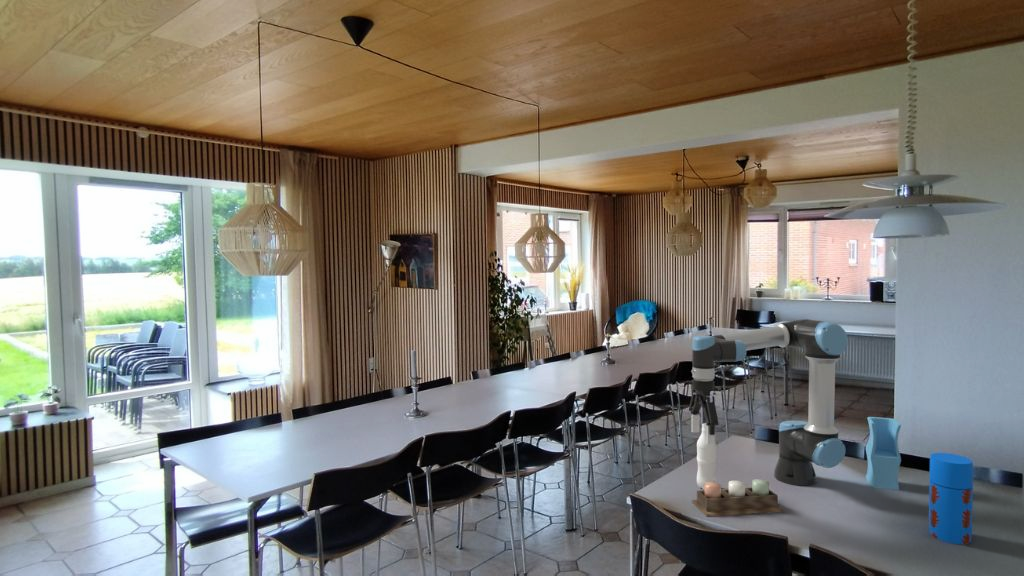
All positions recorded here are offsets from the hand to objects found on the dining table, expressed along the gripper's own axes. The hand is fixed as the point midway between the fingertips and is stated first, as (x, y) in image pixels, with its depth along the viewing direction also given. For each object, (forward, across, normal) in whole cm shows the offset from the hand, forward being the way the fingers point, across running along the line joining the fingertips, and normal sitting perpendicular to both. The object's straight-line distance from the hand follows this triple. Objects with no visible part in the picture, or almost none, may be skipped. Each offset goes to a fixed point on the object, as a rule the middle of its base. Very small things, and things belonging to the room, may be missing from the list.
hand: (702, 437), depth 207 cm
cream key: (+21, +3, +11) cm, 24 cm away
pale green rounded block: (+21, +3, +20) cm, 29 cm away
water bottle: (+25, -15, +8) cm, 30 cm away
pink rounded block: (+21, +3, +2) cm, 21 cm away
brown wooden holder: (+24, +3, +11) cm, 27 cm away
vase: (+24, -11, +77) cm, 81 cm away
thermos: (+24, +32, +67) cm, 78 cm away
